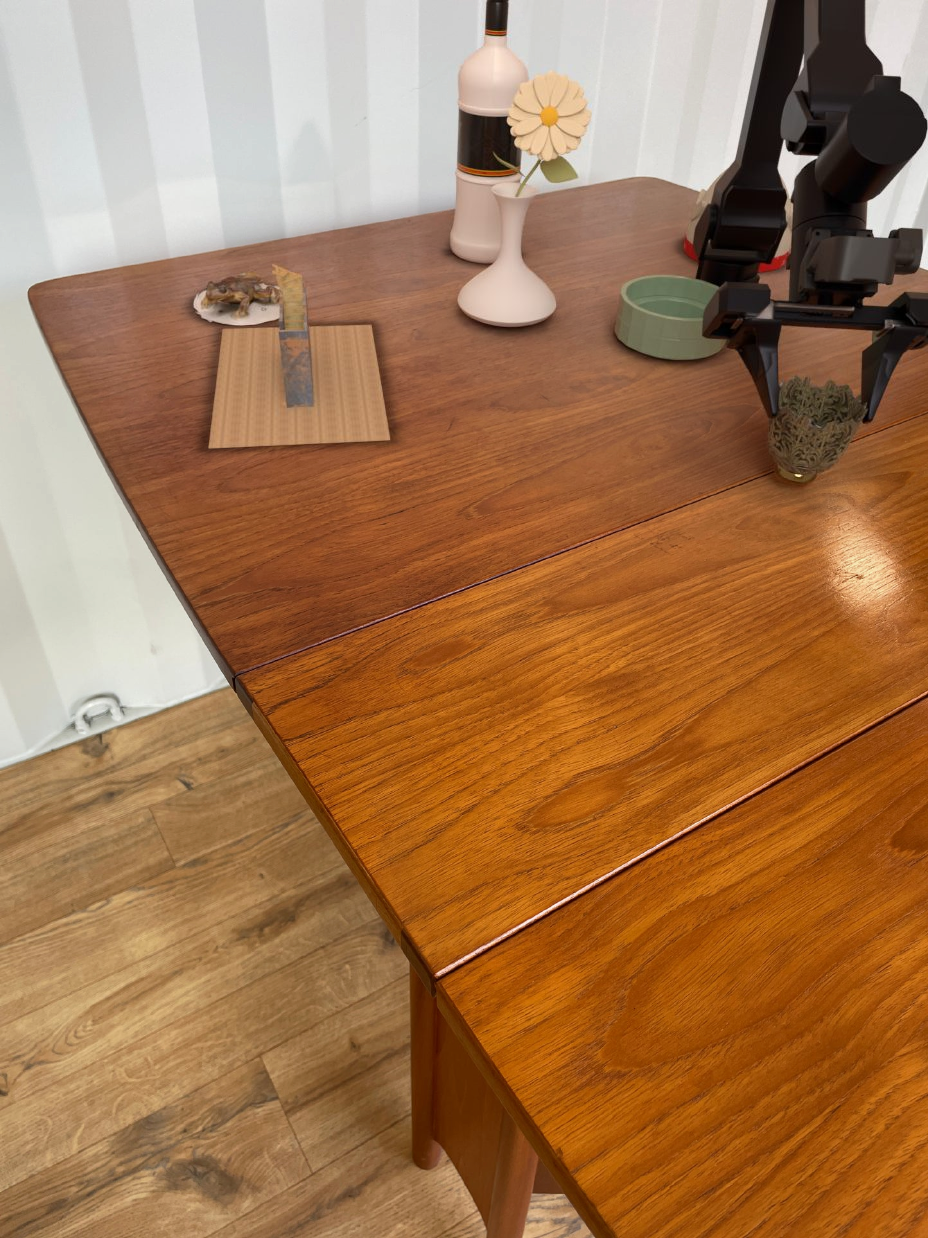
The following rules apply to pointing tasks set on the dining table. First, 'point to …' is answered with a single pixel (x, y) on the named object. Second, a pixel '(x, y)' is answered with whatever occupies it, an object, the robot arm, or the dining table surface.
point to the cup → (811, 429)
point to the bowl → (666, 317)
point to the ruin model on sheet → (297, 380)
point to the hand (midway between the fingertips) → (819, 419)
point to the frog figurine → (239, 300)
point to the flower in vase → (528, 201)
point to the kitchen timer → (699, 208)
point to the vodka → (485, 139)
